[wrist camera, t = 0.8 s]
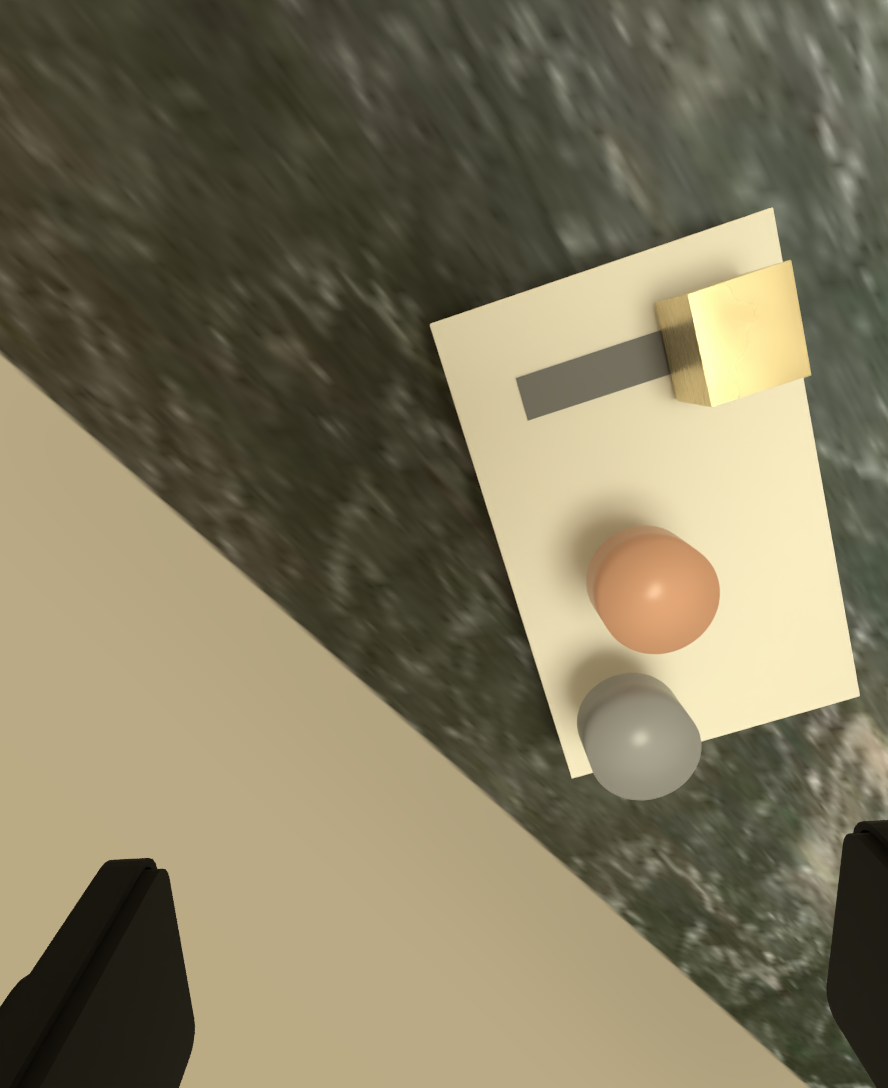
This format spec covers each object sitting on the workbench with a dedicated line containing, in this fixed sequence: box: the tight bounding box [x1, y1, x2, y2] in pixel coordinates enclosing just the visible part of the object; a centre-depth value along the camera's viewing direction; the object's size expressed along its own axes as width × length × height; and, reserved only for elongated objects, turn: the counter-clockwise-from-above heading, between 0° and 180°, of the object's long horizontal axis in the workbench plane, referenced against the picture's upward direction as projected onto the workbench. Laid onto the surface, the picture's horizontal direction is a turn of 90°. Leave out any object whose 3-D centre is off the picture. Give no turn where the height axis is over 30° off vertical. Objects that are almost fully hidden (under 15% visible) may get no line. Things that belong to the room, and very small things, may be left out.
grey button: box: [577, 673, 701, 800], centre depth 28 cm, size 4×4×4 cm
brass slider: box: [655, 260, 811, 407], centre depth 25 cm, size 4×4×4 cm
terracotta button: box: [586, 526, 720, 654], centre depth 27 cm, size 4×4×4 cm
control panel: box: [430, 207, 860, 778], centre depth 31 cm, size 14×22×3 cm, turn 18°
